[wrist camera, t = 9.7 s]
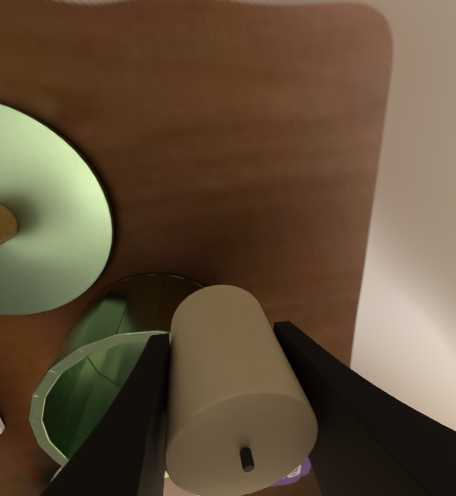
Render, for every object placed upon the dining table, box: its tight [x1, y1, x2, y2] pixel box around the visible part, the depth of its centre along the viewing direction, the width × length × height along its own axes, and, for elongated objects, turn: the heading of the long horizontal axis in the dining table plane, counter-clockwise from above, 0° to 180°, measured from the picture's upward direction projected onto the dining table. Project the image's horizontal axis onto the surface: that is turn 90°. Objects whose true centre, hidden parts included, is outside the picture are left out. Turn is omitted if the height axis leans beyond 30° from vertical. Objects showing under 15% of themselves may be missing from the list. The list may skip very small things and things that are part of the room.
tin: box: [29, 272, 205, 478], centre depth 17 cm, size 12×12×6 cm
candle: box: [164, 285, 318, 496], centre depth 9 cm, size 4×4×5 cm
